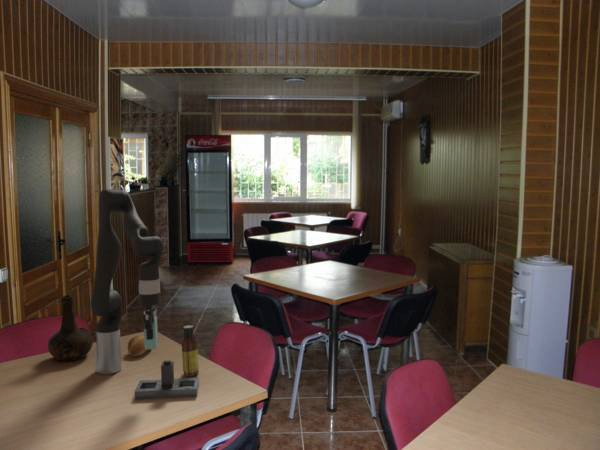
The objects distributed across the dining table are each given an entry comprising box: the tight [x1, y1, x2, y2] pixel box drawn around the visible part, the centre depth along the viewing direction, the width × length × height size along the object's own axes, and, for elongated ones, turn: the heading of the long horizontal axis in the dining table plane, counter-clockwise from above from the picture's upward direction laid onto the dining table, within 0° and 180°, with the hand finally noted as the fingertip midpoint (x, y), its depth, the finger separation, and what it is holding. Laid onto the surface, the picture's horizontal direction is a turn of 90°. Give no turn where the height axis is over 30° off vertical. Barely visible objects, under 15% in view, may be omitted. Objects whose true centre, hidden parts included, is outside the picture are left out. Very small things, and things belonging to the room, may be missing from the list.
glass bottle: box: [47, 294, 94, 362], centre depth 222 cm, size 18×18×28 cm
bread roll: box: [127, 334, 150, 358], centre depth 230 cm, size 10×15×8 cm, turn 173°
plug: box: [143, 315, 159, 350], centre depth 185 cm, size 4×4×12 cm
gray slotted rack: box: [134, 359, 200, 401], centre depth 187 cm, size 22×10×12 cm, turn 97°
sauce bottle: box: [181, 324, 200, 377], centre depth 204 cm, size 7×6×20 cm
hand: (151, 337), depth 185 cm, fingers closed on plug, 4 cm apart
